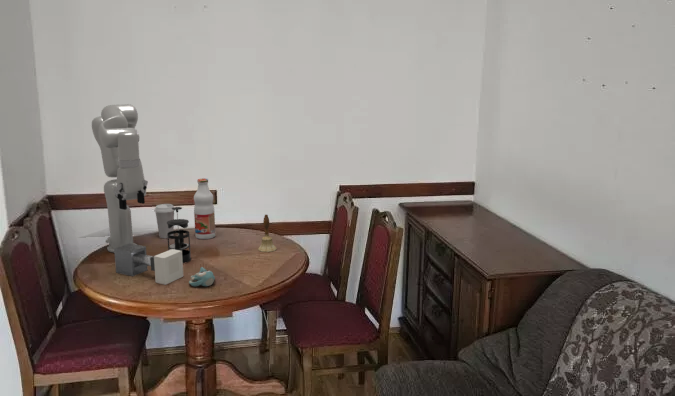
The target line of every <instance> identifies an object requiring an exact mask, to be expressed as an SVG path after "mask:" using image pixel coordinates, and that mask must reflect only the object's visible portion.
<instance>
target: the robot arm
mask: <svg viewBox="0 0 675 396" xmlns="http://www.w3.org/2000/svg"><path fill="white" fill-rule="evenodd" d="M138 114H139V113H138V111H137V109H136V107H135V106H134V105H132V104H129V103H128V104H110V105H106V106H104V107H103V108H102V110H101V112H100V116H97V117H94V118H93V119H92V121H91V130H92V134H93V136H94V139H95V140H96V143H97V144H98V147H99V149H100V154H101V158H102V165H103V170H104V174H105V176H107V178H113V179H110V180H107V181H106V182H104V184H103V192H104V197H105V200H106V206H107V215H108V226H109V227H108V229H109V236H108V237H107V239H105V241H104V242H105V243H107V244H109V245H108V246H107V251H108V252H110V253H114V249H115V248H118V247H121V246H123V245H126V244H129V243H130V244H135V245H138V244H137V243H135V242H134V237H133V223H132V221H133V220H132V211H131V208H130V207H129V205H128V202H127V201H131V200H137V203H138V204H142V205H144V204H145V202H146V201H145V197H146V195H147V186H148V183H149V182H148V180H146V179H145V175H144V170H143V169H144V168H143V164H142V161H141V158H140V149H139V148H140V146H139V145H140V133H139V131H138V130H137V129H136V126H137V123H138V120H139V119H138V118H139V115H138ZM114 178H116V179H114Z"/></svg>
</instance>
